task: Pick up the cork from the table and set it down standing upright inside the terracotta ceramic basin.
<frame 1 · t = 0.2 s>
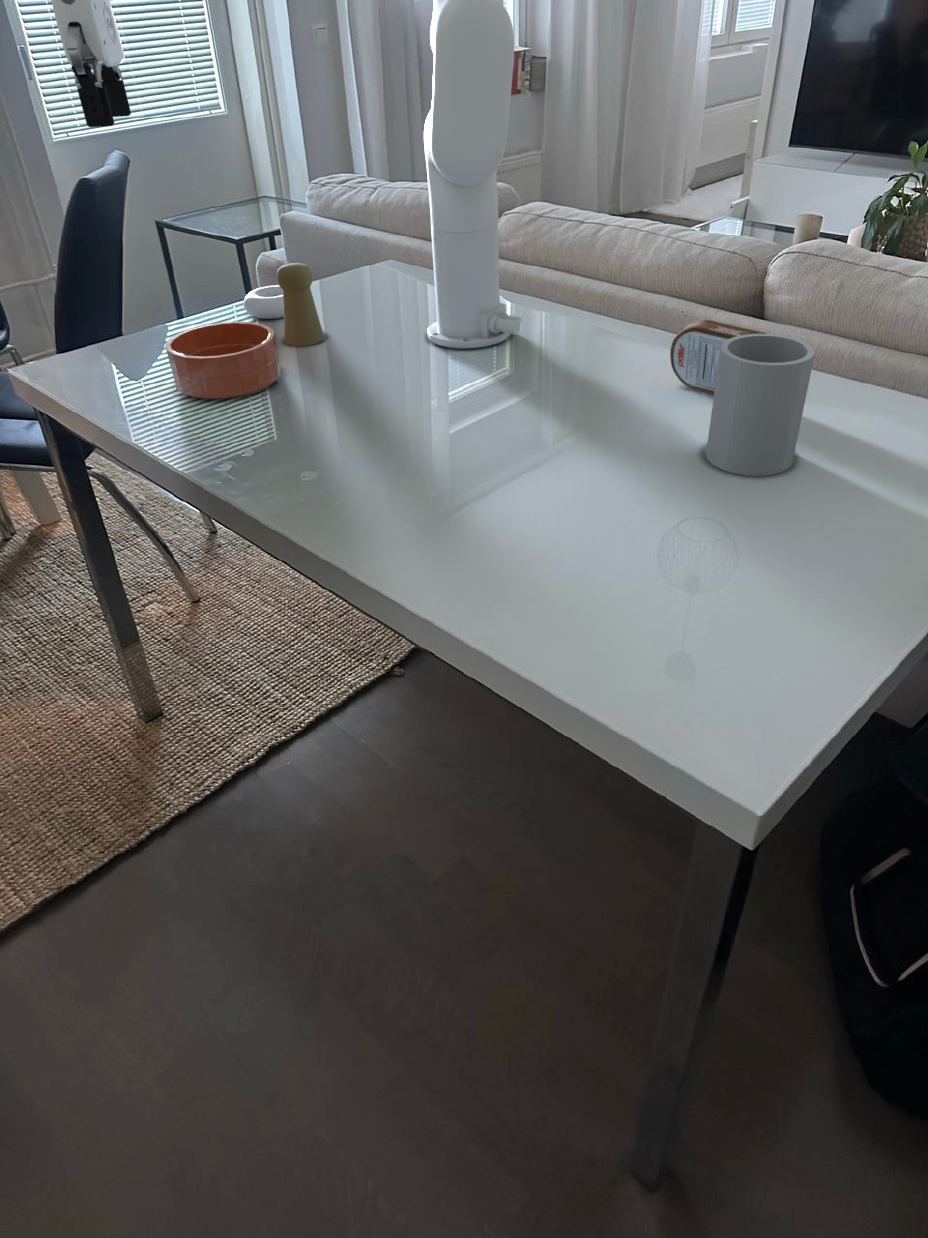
hand: (110, 120, 109), 31 cm above the table, tool pointing down, fingers open, 9 cm apart
tin: (721, 395, 108), on the table
basin: (229, 381, 119), on the table
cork: (304, 340, 132), on the table
cup: (748, 458, 94), on the table
donut: (275, 313, 143), on the table
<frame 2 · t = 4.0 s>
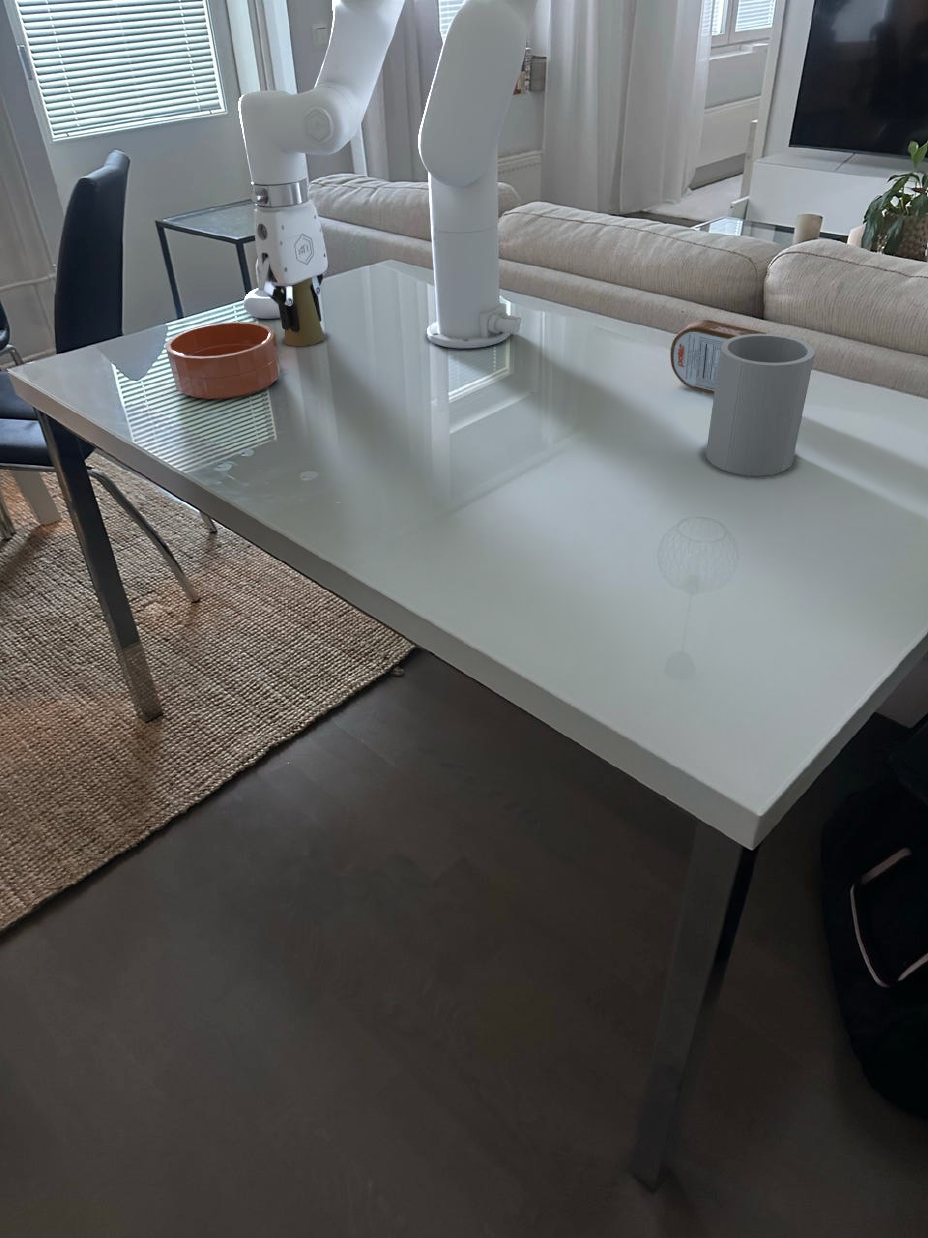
hand: (302, 324, 130), 2 cm above the table, tool pointing down, fingers closed on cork, 4 cm apart
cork: (304, 340, 132), on the table, touching gripper
everything else where it was.
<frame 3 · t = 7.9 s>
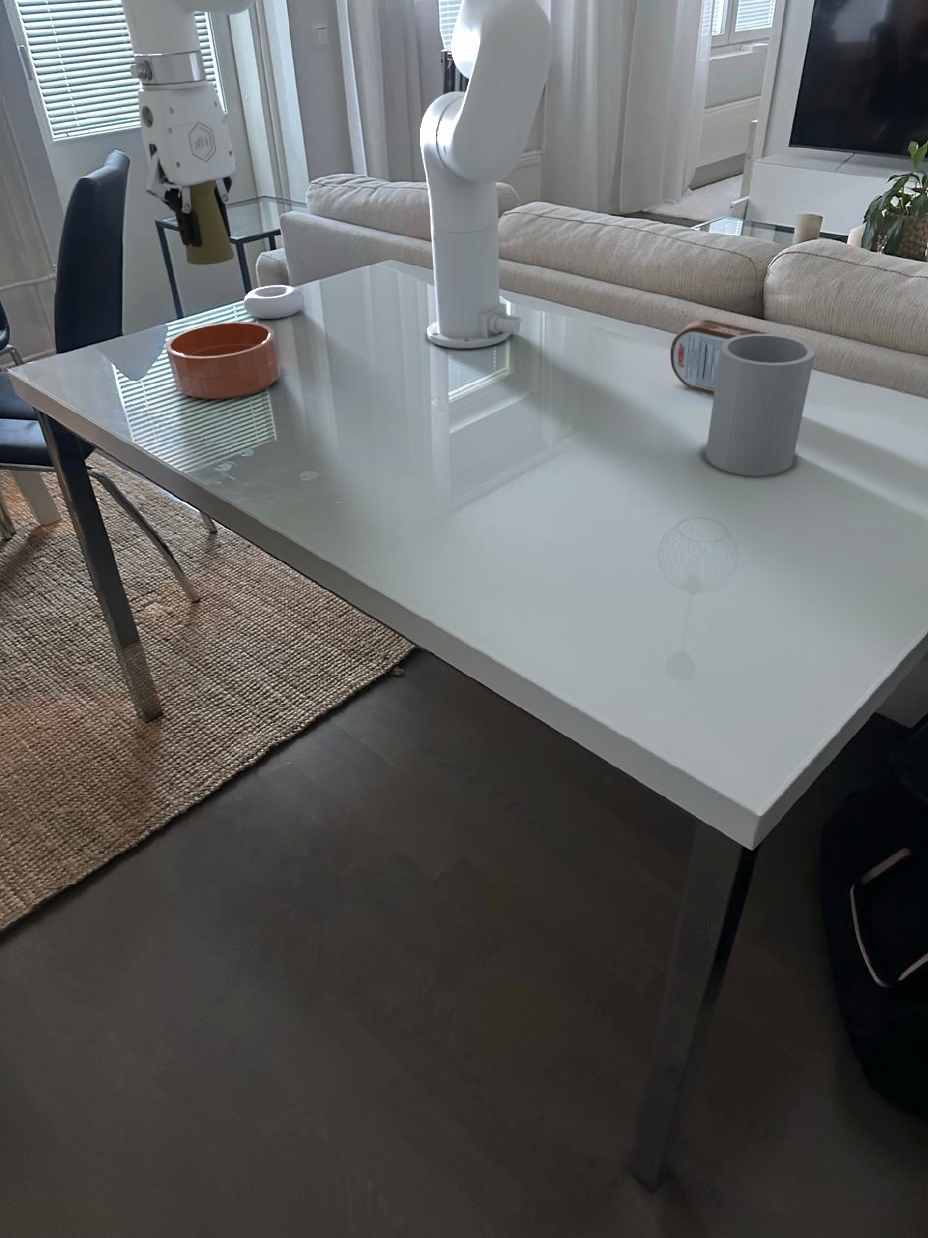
hand: (207, 239, 109), 18 cm above the table, tool pointing down, fingers closed on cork, 4 cm apart
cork: (211, 259, 110), point 16 cm above the table, touching gripper
everything else where it was.
when the fingers open (3 cm above the table, at t = 11.7 s): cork stays where it is, resting on basin.
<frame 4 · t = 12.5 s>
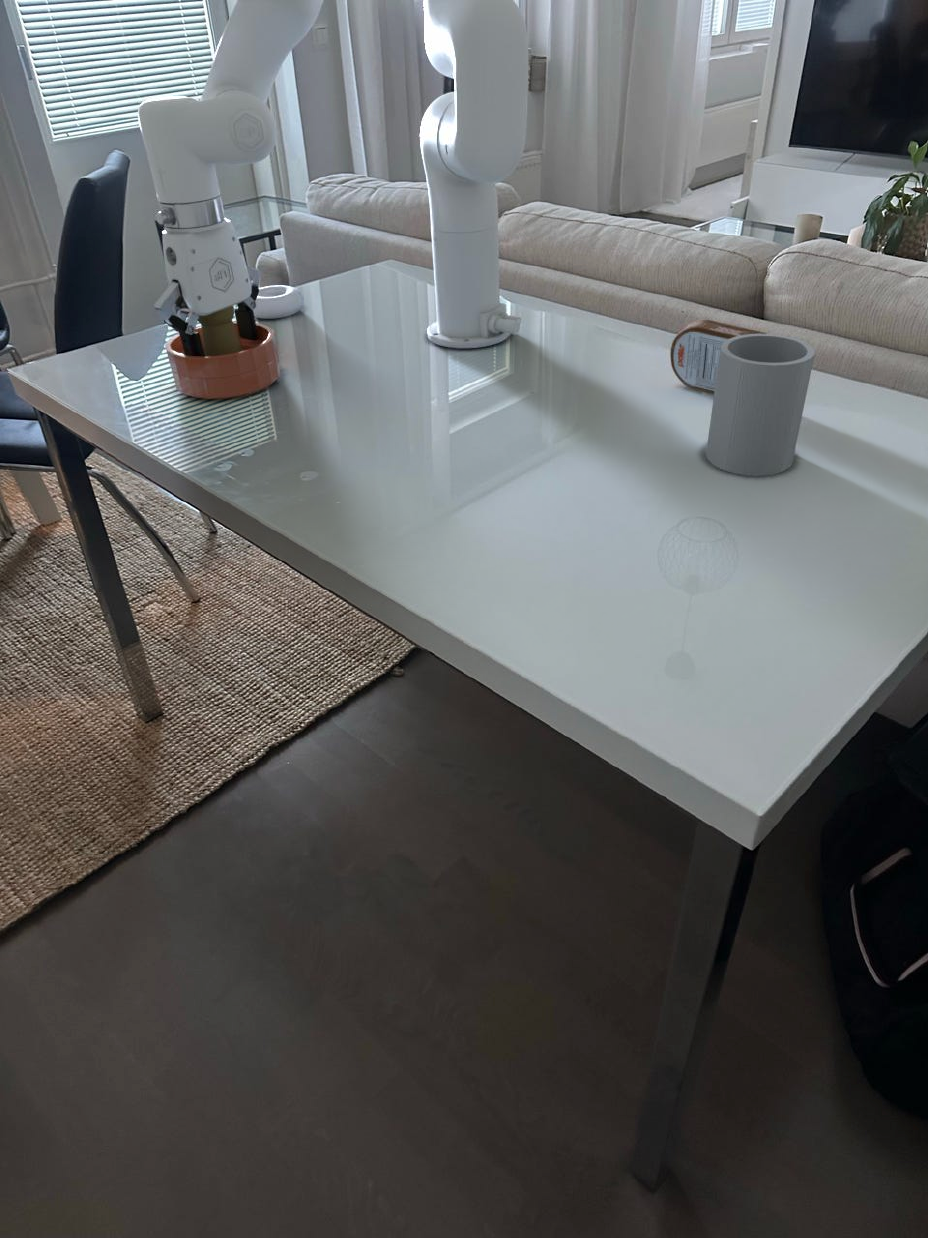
hand: (223, 349, 116), 5 cm above the table, tool pointing down, fingers open, 9 cm apart
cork: (229, 378, 119), resting on basin
everything else where it was.
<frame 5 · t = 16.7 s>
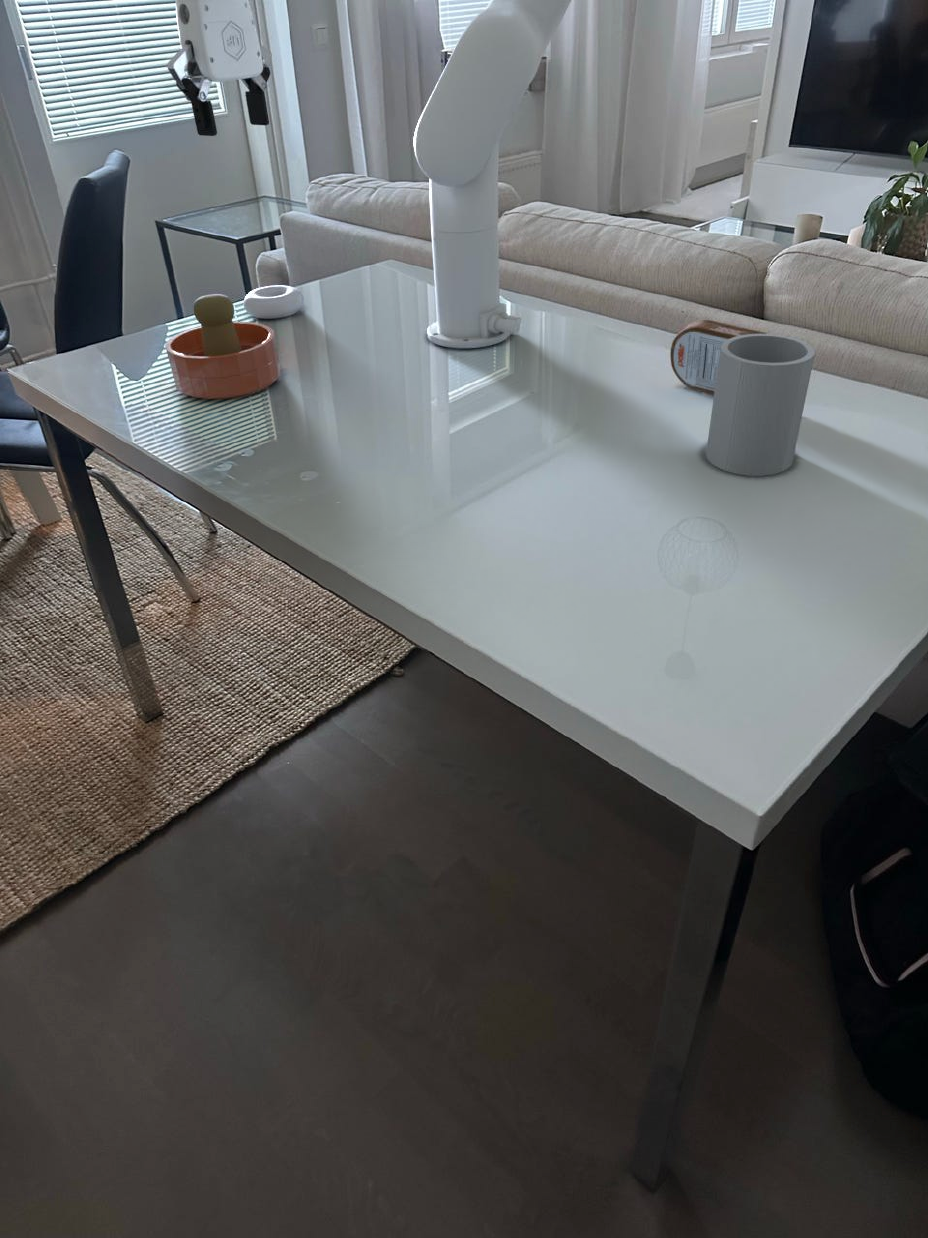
hand: (234, 129, 117), 28 cm above the table, tool pointing down, fingers open, 9 cm apart
nothing on the table moved.
at the end: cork inside the target area in the basin (0.0 cm from its centre), point 0.4 cm above the basin's base; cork tilted 0°; the gripper is holding nothing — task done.
